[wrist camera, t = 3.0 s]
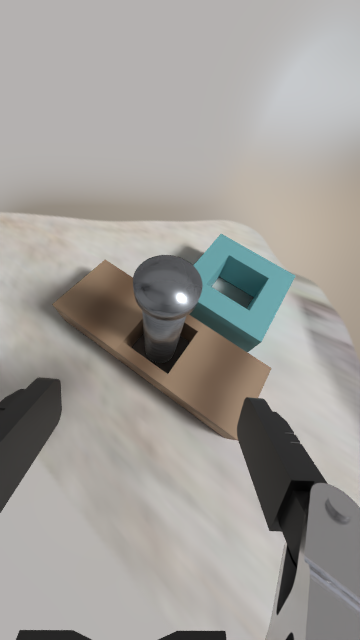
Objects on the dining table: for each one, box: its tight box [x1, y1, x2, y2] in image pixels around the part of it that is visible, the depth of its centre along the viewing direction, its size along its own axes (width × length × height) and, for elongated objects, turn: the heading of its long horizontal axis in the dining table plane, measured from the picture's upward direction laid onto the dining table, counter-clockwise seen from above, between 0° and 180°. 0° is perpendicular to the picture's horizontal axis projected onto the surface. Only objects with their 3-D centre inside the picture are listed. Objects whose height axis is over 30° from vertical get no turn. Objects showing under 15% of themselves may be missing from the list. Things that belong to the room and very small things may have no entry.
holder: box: [189, 234, 295, 352], centre depth 25 cm, size 10×10×4 cm
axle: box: [133, 255, 203, 363], centre depth 18 cm, size 4×4×12 cm
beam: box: [52, 260, 271, 440], centre depth 21 cm, size 20×7×4 cm, turn 56°
